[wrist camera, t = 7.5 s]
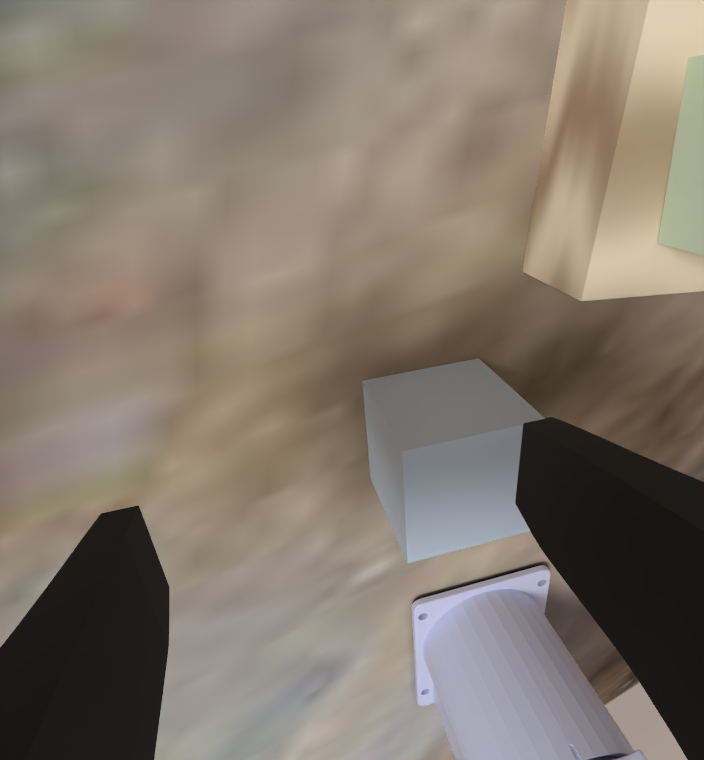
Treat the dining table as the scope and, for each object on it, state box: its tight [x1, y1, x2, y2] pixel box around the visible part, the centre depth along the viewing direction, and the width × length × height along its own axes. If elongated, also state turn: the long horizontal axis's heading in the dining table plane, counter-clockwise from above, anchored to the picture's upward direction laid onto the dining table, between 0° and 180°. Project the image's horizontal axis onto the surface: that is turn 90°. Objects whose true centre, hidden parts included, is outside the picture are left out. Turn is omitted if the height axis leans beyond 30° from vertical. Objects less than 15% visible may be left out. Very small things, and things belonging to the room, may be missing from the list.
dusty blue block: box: [362, 358, 545, 563], centre depth 19 cm, size 5×5×5 cm
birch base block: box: [523, 0, 704, 301], centre depth 17 cm, size 9×9×4 cm
